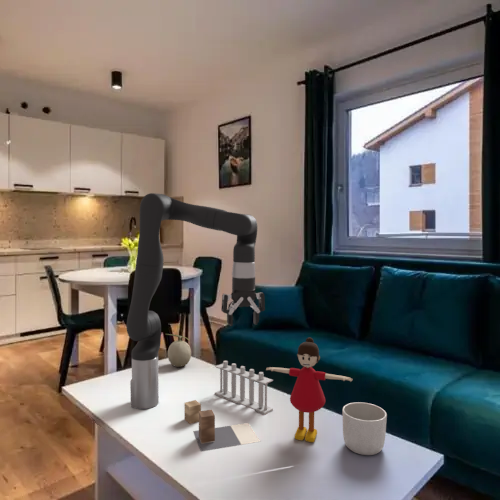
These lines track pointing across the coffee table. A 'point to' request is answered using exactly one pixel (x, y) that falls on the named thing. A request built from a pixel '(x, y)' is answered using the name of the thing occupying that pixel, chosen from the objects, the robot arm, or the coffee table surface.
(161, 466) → the coffee table surface
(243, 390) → the test tube rack
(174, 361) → the fruit
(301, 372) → the toy
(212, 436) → the walnut block
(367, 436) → the planter
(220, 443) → the mat
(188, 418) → the oak block
